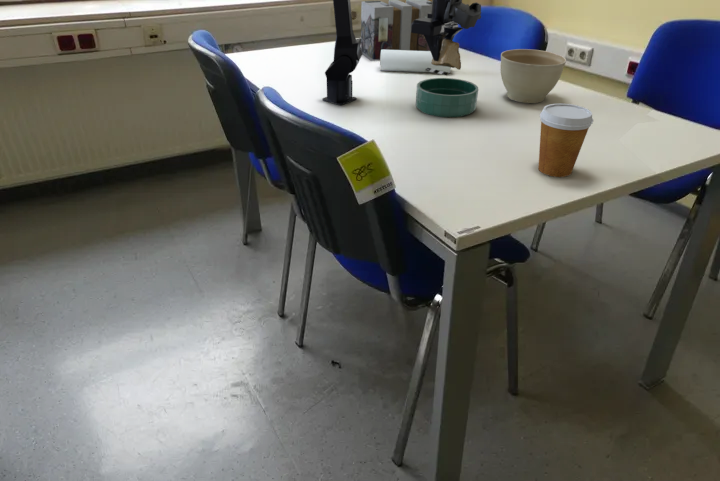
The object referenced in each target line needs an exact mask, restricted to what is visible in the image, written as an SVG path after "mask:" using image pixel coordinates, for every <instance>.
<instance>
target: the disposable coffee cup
mask: <svg viewBox="0 0 720 481" xmlns="http://www.w3.org/2000/svg"><path fill="white" fill-rule="evenodd" d="M539 118H540V135H539V151H538V167H537V168H538V171H539V172H541V173H542V174H543V175H547V176H550V177H555V178H565V177H569V176H570V175H572V174H573V170H574V167H575V165H576V163H577V160H578V157H579V154H580V152H581V149H582V147H583V144H584V142H585V139H586V137H587V135H588V131H589V128H591V126H592V124H593V123H594V119H593V112H592V111H591V109H589V108H586V107H584V106H581V105H578V104H577V105H576V104H571V103H550V104H546V105H545V106H543V109H542V111H541V112H540V113H539Z"/></svg>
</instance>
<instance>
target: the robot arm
mask: <svg viewBox="0 0 720 481" xmlns="http://www.w3.org/2000/svg"><path fill="white" fill-rule="evenodd" d="M431 2H432V10H431V13H428V15H427V18H419V19H416V20H414V21H413V22H412V23H411V33H417V34H422V35H424V37H425V39H426V42H427V44H428V46H429V49H430V52H431V54H432V57H433V60H434V61H438V60H439V56H440V51H441V45H442V41H443V39H448V40H452V41H454V38H455V36H456V35H457V34H458V33H459V32H461V31H463V29H464V30H468V29H470V28H475V26H476V24H477V22H478V20H481V19H482V4H480V3H478V1H477V2H476V1H475V2H473V3H471V4H465V3H464V2H463V0H431ZM332 3H333V12H334V13H333V14H334V24H335V33H336V34H335V41H334V42H335V43H334V48H333V49H334V50H333V61H332V62H331V63H330V64H329V66H328V67H327V68H326V70H325V71H324V75H325V78H326V96H325V97H323V98H322V101H323V102H326V103H331V104H334V105H336V106H337V105H338V106H343V105H346V104H348V103H351V102H354V101H357V97H356V96H353V75H352V73H353V72H354V71H355V70H356V69H357V66H358V64H359V63H360V60H361V58H362V56H363V55H362V54H363V53H362V51H361V37H358V38H356V36H355V33H354V29H353V28H354V27H353V16H352V15H353V14H352V6H351V0H332ZM428 18H430V19H428Z"/></svg>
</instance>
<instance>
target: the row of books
mask: <svg viewBox="0 0 720 481" xmlns="http://www.w3.org/2000/svg"><path fill="white" fill-rule="evenodd" d="M431 10H432V0H405V2H404V1H402V0H388V3H387V2H384V1H381V0H363V1H362V0H361V9H360V11H361V13H360V14H361V17H360V20H361V21H360V38H361V51H362V53H363V54H362V56H363V57H364V58H366V59H368V60H369V61H371V62H373V61H374V62H375V61H380V55H381V50H382V49H383V50H410V51H430V49H429V46H428V44H427V42H426V39H425V37H424V35H422V34H417V33H411V23H412V22H413V21H414V20H416V19H419V18H427V15H428V13H431ZM428 19H430V18H428Z"/></svg>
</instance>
